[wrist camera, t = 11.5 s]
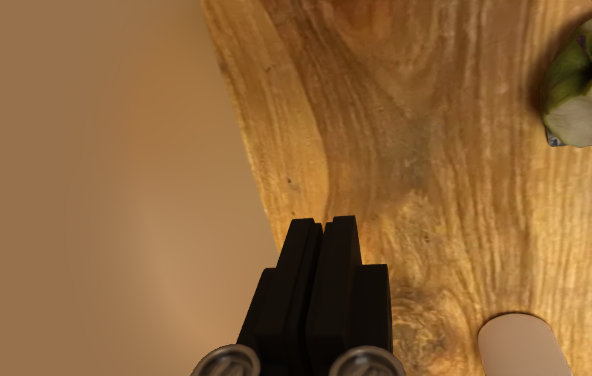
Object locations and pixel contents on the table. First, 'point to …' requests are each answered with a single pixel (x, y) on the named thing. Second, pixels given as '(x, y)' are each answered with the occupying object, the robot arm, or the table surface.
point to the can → (520, 348)
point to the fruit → (569, 91)
